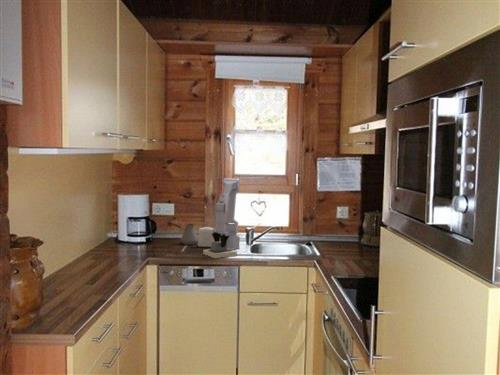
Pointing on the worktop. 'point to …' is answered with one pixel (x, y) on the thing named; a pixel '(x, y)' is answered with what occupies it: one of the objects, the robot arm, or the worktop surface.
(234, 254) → the stand
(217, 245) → the housing
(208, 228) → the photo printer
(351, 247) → the worktop surface
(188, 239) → the coffee pot
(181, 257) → the worktop surface
